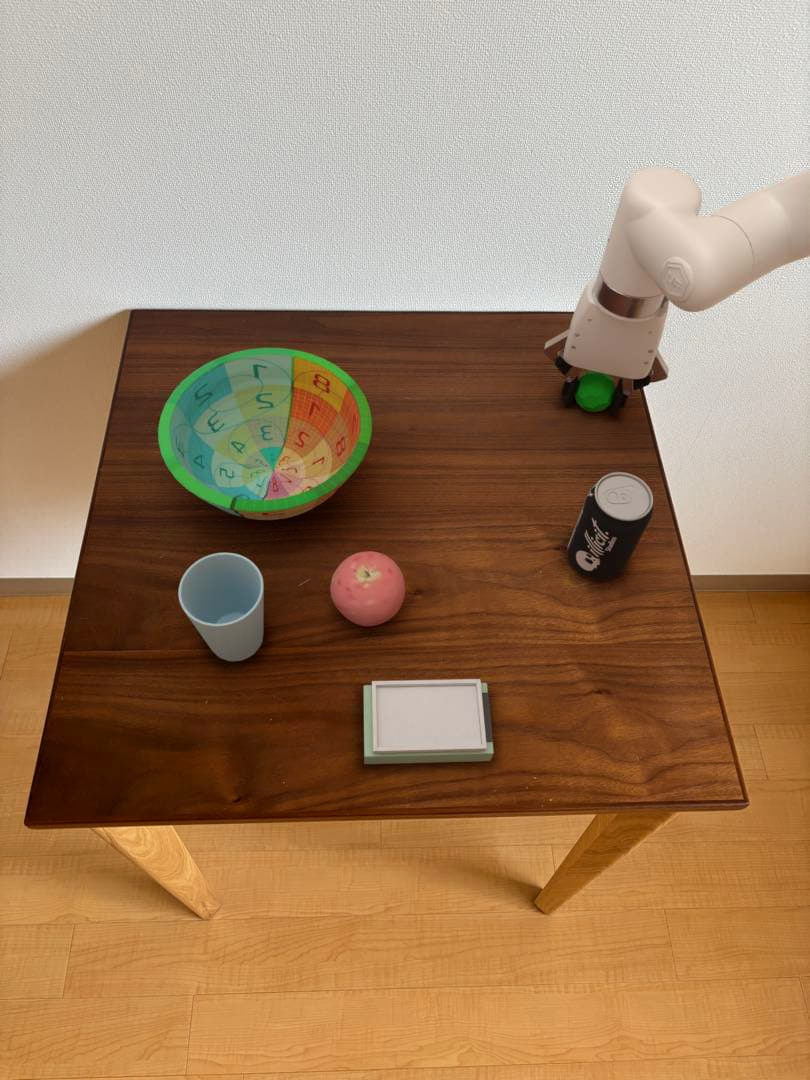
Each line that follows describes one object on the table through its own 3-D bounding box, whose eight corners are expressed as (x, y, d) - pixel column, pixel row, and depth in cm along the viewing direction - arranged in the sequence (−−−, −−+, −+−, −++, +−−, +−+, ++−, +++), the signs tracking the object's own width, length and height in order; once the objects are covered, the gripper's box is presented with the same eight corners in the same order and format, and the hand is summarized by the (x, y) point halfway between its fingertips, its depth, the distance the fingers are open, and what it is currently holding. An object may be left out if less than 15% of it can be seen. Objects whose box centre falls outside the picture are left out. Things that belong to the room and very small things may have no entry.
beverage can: (628, 585, 88) (662, 524, 78) (568, 583, 88) (594, 522, 78) (620, 534, 92) (652, 469, 82) (562, 532, 92) (587, 467, 82)
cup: (182, 632, 83) (161, 582, 74) (245, 590, 86) (232, 537, 77) (225, 686, 80) (208, 641, 72) (288, 641, 83) (279, 592, 74)
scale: (484, 691, 81) (488, 677, 78) (490, 761, 77) (495, 749, 74) (363, 694, 81) (363, 680, 77) (364, 764, 77) (364, 752, 74)
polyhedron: (611, 420, 101) (621, 394, 97) (571, 418, 101) (580, 391, 97) (608, 390, 104) (618, 363, 100) (569, 388, 104) (578, 361, 100)
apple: (368, 653, 83) (369, 617, 76) (318, 608, 85) (314, 569, 79) (417, 606, 86) (422, 568, 79) (367, 564, 88) (368, 524, 82)
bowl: (233, 384, 102) (221, 323, 93) (400, 439, 98) (403, 381, 89) (138, 521, 90) (115, 466, 82) (323, 590, 87) (318, 540, 78)
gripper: (713, 281, 88) (661, 396, 103) (557, 249, 90) (529, 367, 105) (709, 328, 84) (655, 440, 99) (546, 294, 86) (518, 409, 101)
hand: (591, 401), depth 102 cm, fingers closed on polyhedron, 5 cm apart
